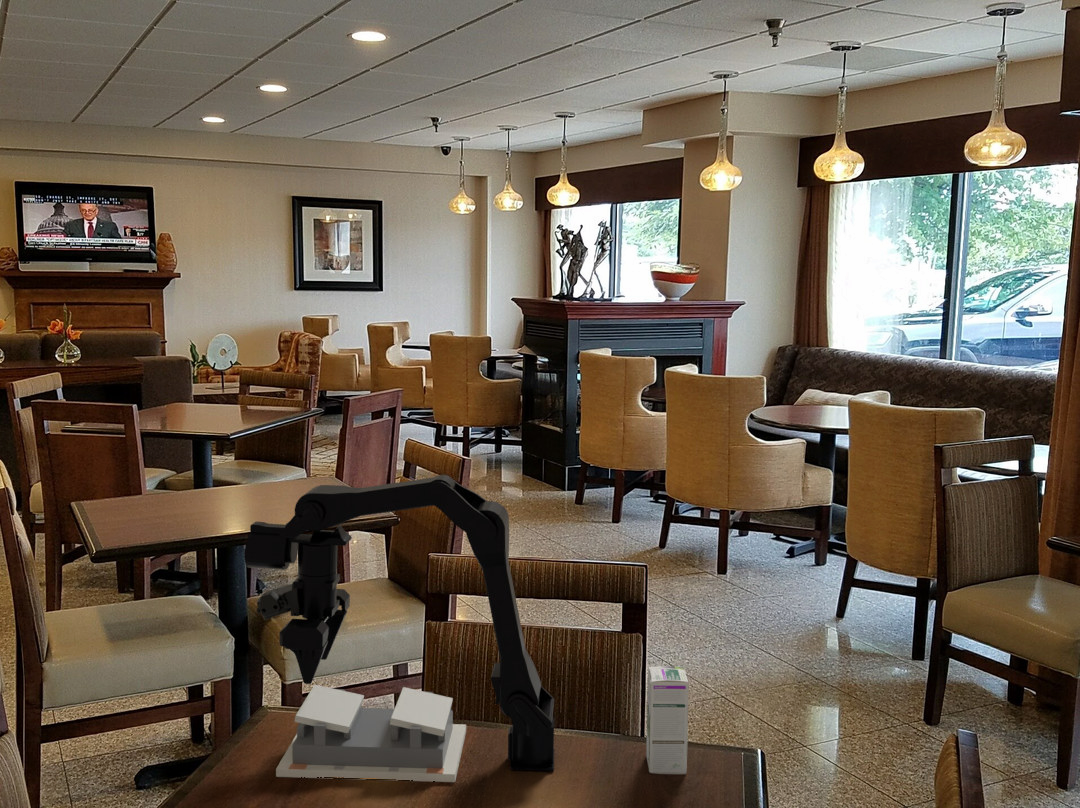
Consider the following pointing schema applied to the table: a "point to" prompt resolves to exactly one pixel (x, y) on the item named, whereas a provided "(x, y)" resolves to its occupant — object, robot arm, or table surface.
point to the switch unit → (374, 750)
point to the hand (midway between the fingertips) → (315, 671)
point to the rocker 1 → (330, 708)
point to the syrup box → (667, 720)
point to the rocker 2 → (422, 711)
